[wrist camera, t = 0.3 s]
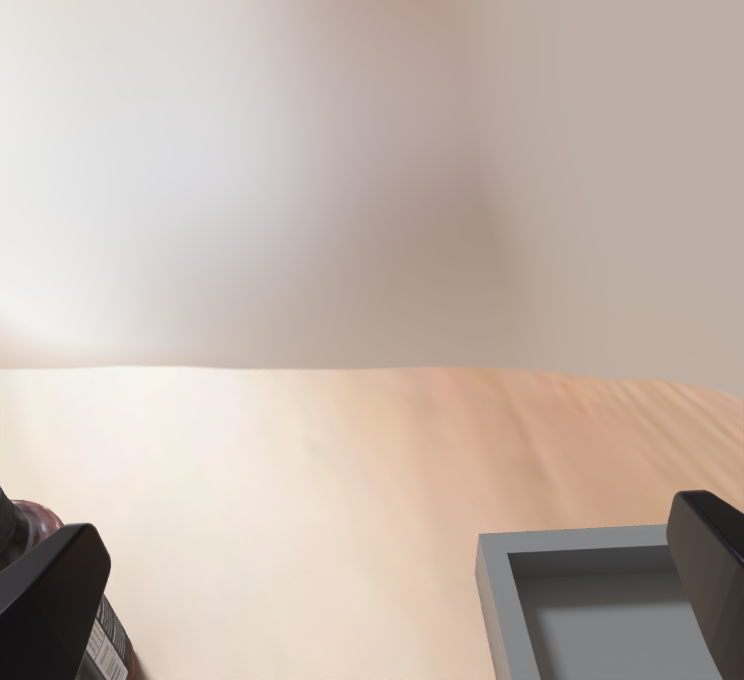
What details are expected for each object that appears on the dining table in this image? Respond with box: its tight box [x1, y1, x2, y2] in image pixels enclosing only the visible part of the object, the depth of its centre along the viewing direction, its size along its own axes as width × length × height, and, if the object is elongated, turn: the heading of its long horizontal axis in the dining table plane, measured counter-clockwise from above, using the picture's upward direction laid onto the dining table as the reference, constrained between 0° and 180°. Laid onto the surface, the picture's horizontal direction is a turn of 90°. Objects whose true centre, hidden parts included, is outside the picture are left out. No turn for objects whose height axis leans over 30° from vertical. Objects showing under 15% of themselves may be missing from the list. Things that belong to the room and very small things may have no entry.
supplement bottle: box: [0, 487, 135, 680], centre depth 18 cm, size 6×6×11 cm
